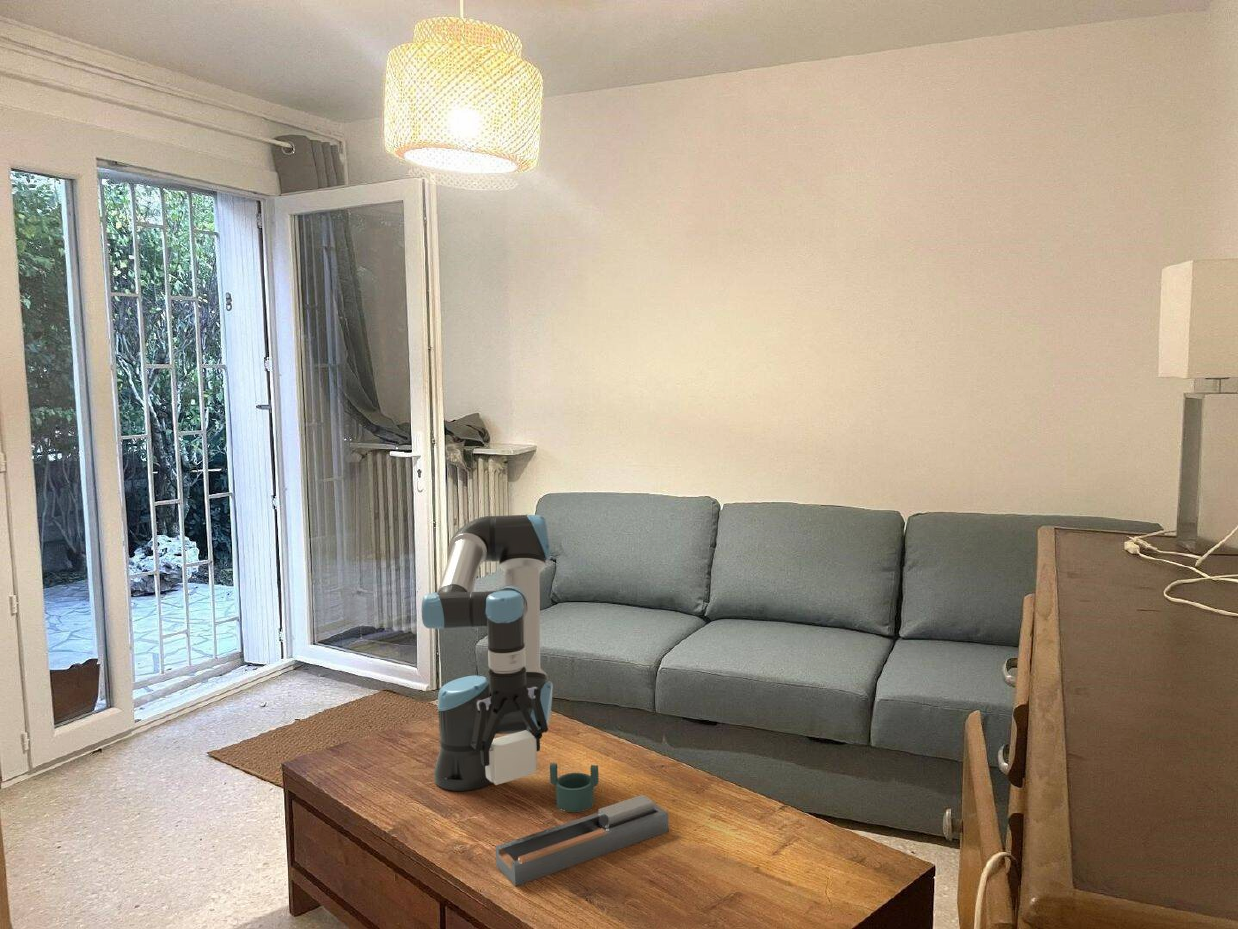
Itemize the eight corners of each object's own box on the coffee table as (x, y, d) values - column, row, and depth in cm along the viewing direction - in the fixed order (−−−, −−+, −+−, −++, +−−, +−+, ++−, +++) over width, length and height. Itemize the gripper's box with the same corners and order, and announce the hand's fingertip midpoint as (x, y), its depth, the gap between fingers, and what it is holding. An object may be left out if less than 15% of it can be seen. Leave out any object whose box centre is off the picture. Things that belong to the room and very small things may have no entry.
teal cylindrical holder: (602, 805, 198) (601, 766, 197) (565, 816, 193) (563, 776, 192) (583, 790, 206) (582, 752, 205) (546, 800, 201) (545, 761, 200)
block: (488, 777, 186) (486, 740, 185) (527, 766, 190) (525, 730, 189) (496, 785, 182) (494, 747, 181) (535, 773, 187) (534, 736, 186)
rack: (496, 866, 175) (495, 836, 174) (645, 814, 193) (645, 788, 192) (515, 886, 167) (514, 856, 167) (668, 831, 186) (668, 803, 185)
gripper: (464, 684, 175) (470, 794, 177) (562, 662, 186) (566, 765, 189) (450, 673, 181) (455, 780, 184) (546, 652, 192) (549, 753, 195)
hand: (511, 772), depth 186 cm, fingers closed on block, 9 cm apart
